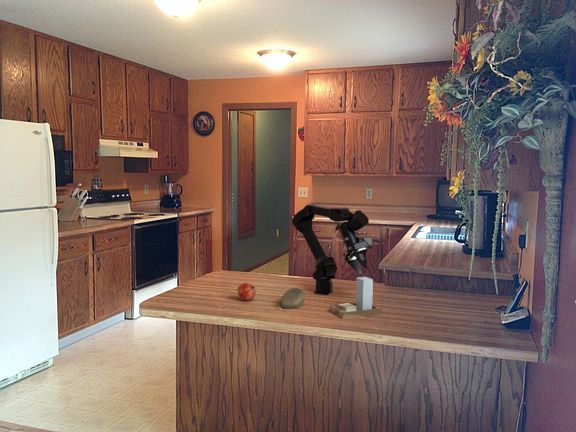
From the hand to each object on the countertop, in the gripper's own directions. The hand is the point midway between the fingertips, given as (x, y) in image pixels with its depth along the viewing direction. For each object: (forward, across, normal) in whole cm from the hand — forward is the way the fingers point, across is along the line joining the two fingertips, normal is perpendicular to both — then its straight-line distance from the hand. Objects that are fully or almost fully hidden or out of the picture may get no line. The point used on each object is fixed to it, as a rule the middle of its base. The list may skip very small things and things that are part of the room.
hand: (363, 271), depth 191 cm
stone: (+4, +4, +31) cm, 32 cm away
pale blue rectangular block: (+15, -6, +8) cm, 18 cm away
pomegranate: (-5, +12, +47) cm, 49 cm away
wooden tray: (+16, -7, +11) cm, 21 cm away
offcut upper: (+13, -9, +14) cm, 21 cm away
